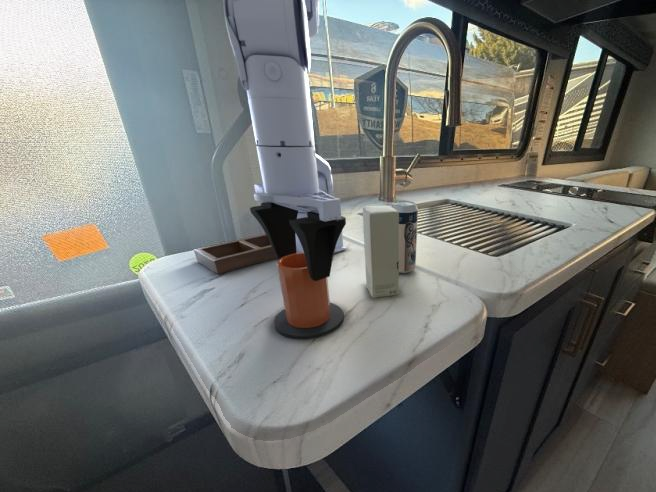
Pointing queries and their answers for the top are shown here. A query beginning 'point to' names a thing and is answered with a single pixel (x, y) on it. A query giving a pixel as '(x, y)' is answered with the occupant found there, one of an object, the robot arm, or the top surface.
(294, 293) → the cup
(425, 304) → the top surface
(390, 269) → the box
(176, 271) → the top surface
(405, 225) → the beer can
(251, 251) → the cup holder
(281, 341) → the top surface
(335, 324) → the coaster
